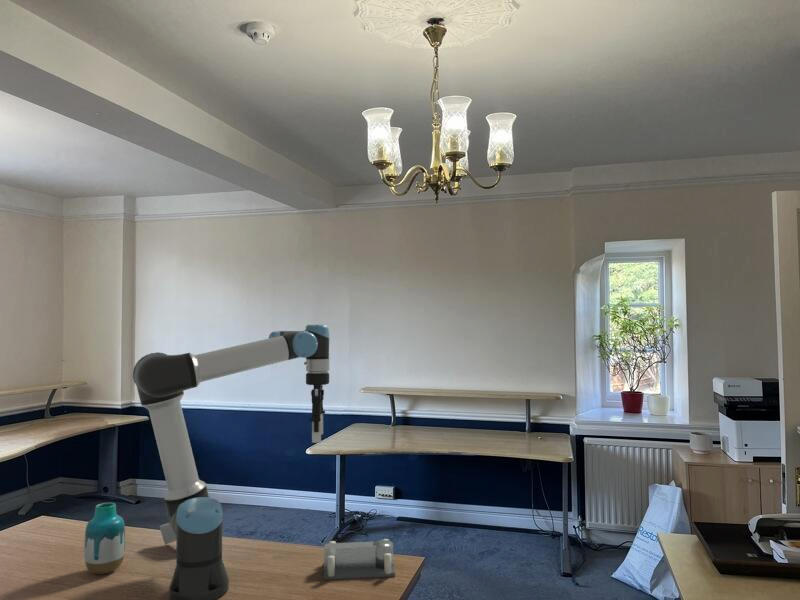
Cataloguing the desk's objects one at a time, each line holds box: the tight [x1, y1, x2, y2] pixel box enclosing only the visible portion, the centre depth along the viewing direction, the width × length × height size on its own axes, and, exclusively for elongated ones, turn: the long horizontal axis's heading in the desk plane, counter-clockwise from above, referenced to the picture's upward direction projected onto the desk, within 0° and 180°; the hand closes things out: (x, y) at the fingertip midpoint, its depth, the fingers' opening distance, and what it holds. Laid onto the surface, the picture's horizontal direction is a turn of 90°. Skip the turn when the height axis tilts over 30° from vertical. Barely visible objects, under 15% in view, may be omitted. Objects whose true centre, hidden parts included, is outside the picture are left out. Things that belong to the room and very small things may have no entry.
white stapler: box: [159, 522, 177, 545], centre depth 187 cm, size 4×10×15 cm
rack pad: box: [323, 538, 396, 581], centre depth 170 cm, size 20×13×6 cm, turn 95°
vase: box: [83, 501, 126, 575], centre depth 170 cm, size 11×11×19 cm
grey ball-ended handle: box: [323, 539, 394, 571], centre depth 170 cm, size 20×6×6 cm, turn 95°
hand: (317, 438), depth 188 cm, fingers open, 13 cm apart
